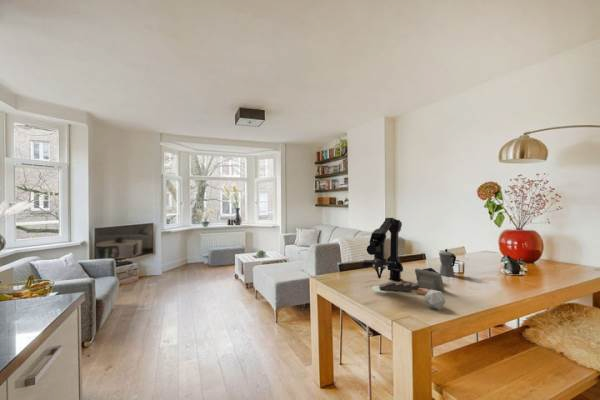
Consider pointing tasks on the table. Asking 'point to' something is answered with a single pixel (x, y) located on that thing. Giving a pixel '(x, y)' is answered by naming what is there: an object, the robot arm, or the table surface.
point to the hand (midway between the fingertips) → (379, 278)
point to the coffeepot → (447, 263)
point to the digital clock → (429, 280)
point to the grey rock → (434, 299)
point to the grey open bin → (430, 270)
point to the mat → (391, 291)
